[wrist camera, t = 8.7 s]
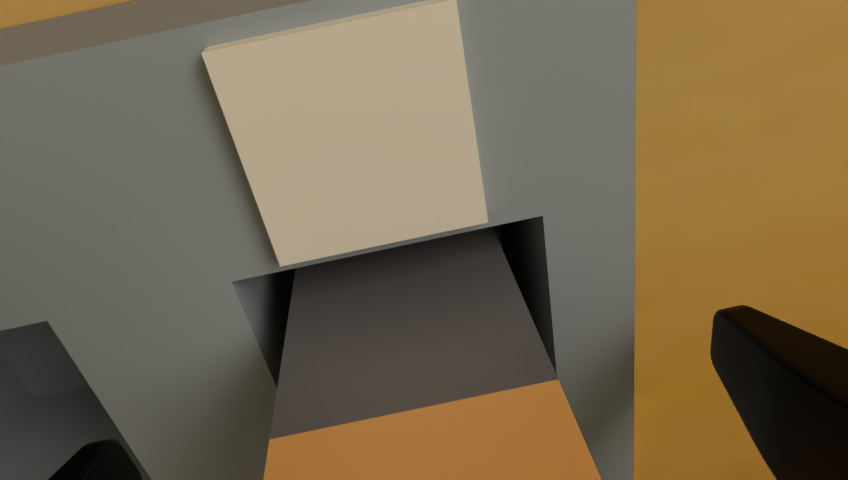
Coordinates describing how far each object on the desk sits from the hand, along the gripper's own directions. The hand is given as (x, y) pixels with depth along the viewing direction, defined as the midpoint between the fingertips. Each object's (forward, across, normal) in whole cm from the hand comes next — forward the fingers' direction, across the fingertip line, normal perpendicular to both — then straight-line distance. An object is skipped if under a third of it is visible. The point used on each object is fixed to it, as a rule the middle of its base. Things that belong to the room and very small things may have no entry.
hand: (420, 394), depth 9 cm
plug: (+5, 0, 0) cm, 5 cm away
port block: (+6, +4, 0) cm, 7 cm away
